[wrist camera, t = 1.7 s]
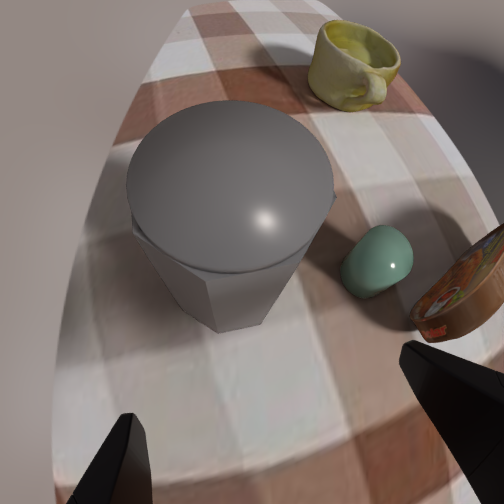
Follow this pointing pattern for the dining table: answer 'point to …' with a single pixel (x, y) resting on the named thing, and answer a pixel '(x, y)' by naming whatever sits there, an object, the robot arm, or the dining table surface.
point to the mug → (352, 66)
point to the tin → (464, 292)
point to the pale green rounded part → (377, 262)
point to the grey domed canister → (228, 206)
